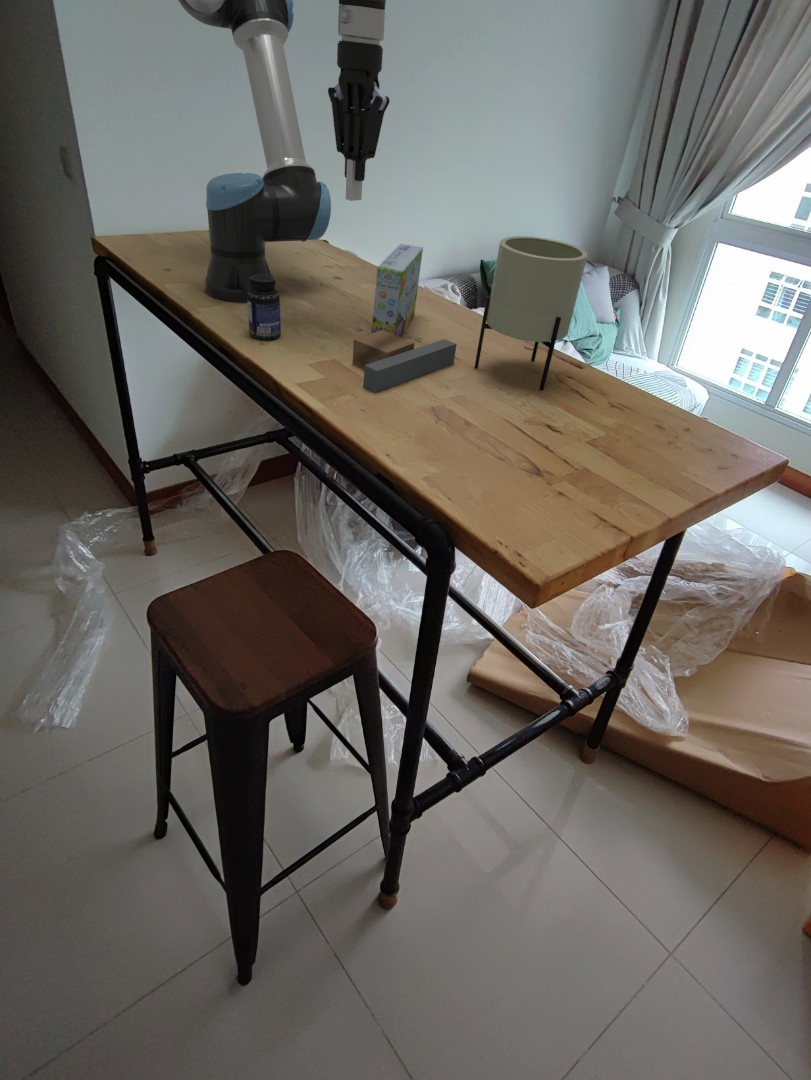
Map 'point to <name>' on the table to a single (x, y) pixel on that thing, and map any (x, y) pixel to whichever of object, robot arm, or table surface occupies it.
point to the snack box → (397, 290)
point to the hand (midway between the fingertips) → (353, 199)
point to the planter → (534, 292)
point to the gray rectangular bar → (408, 365)
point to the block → (378, 347)
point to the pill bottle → (264, 308)
